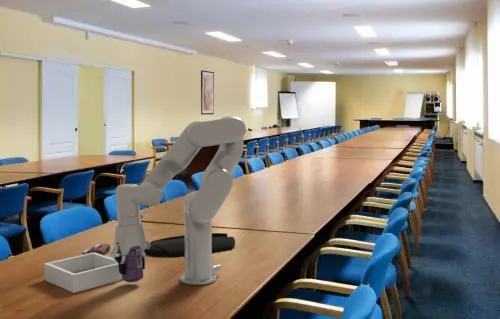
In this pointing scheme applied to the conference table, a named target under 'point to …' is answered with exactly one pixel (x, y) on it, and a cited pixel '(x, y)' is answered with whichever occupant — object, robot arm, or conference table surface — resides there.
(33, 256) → the conference table surface
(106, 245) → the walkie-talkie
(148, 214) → the conference table surface
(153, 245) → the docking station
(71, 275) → the walled box
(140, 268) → the beverage can
